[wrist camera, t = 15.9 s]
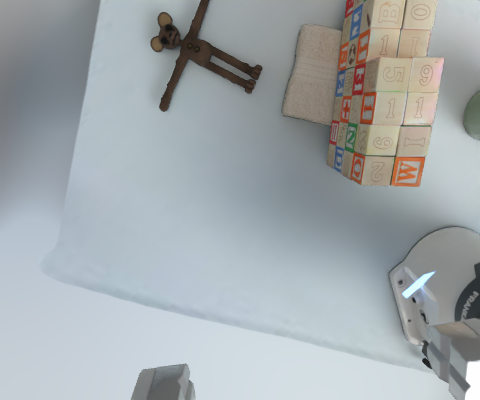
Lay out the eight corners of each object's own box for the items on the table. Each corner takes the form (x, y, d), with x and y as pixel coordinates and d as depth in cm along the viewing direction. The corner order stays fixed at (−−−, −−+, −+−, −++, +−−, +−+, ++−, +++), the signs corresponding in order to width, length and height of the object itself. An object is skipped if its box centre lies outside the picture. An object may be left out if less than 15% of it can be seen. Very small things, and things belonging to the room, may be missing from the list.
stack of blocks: (345, -10, 37) (397, -66, 25) (396, -8, 37) (472, -62, 25) (325, 165, 43) (360, 186, 31) (370, 166, 43) (421, 188, 31)
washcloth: (395, 142, 46) (406, 144, 43) (277, 116, 44) (280, 117, 41) (424, 56, 42) (439, 52, 39) (299, 26, 41) (304, 19, 38)
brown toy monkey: (228, 144, 42) (124, 95, 39) (226, 139, 46) (131, 95, 43) (290, 9, 38) (178, -59, 34) (282, 18, 42) (181, -43, 38)
